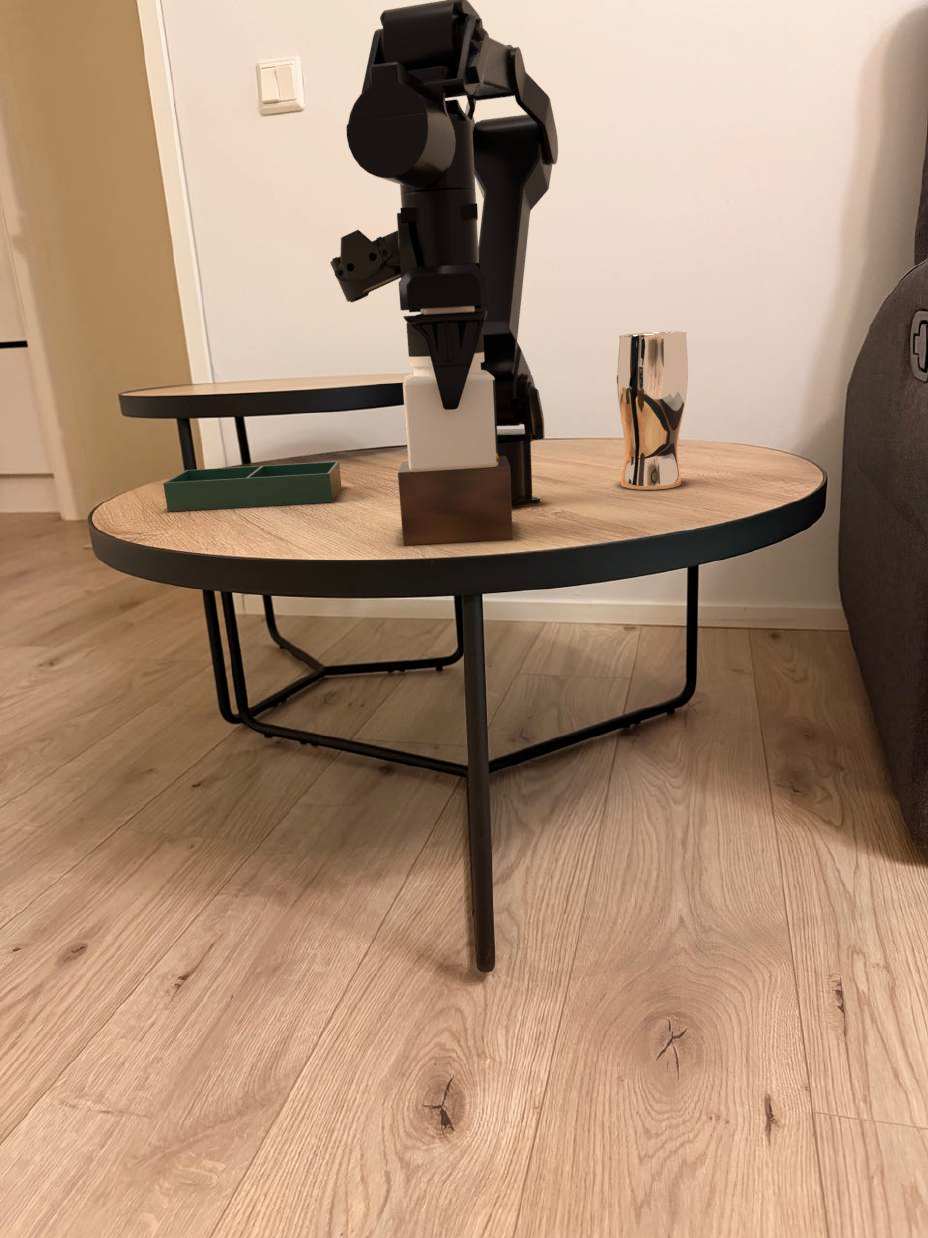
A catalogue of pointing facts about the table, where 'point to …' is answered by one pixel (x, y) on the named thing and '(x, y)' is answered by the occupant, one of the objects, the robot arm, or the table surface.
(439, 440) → the medicine bottle
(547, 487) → the table surface
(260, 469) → the divided tray
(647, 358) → the beer glass
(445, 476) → the walnut stand
